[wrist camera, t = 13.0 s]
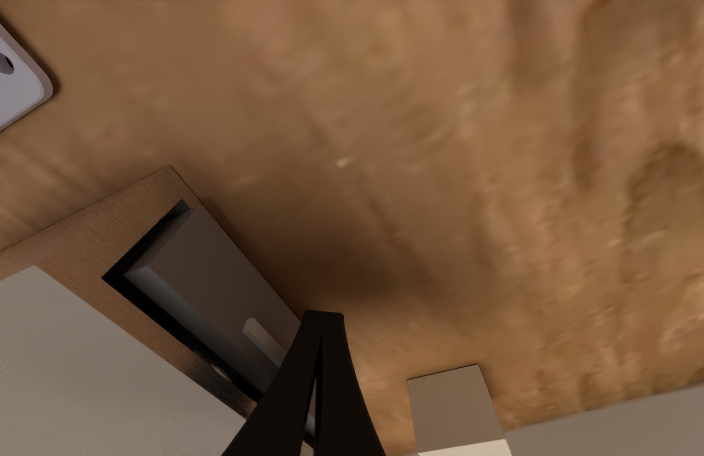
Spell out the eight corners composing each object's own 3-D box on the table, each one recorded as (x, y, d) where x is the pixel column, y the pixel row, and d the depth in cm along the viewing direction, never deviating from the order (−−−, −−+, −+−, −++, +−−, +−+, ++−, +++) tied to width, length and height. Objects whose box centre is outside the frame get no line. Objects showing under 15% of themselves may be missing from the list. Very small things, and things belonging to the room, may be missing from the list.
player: (-45, 274, 13) (-237, 392, 9) (169, 165, 10) (34, 264, 6) (184, 417, 20) (138, 521, 16) (347, 378, 17) (345, 492, 13)
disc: (86, 336, 13) (55, 372, 11) (185, 300, 11) (163, 336, 10) (177, 397, 15) (160, 431, 14) (265, 373, 14) (255, 409, 13)
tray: (-11, 300, 12) (-102, 368, 10) (206, 202, 10) (154, 262, 7) (178, 417, 18) (150, 480, 16) (350, 376, 15) (348, 444, 13)
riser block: (406, 380, 17) (417, 453, 14) (478, 364, 16) (505, 438, 13) (427, 411, 19) (440, 481, 16) (491, 399, 18) (517, 470, 15)
